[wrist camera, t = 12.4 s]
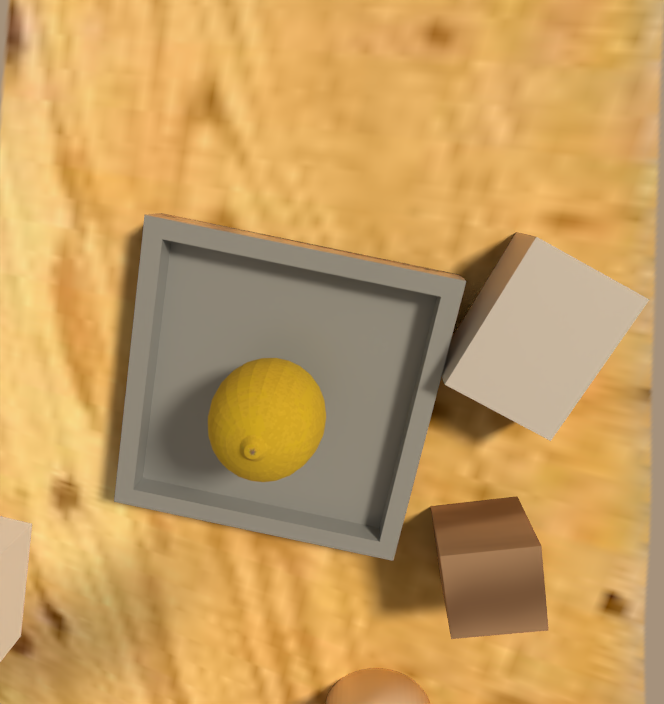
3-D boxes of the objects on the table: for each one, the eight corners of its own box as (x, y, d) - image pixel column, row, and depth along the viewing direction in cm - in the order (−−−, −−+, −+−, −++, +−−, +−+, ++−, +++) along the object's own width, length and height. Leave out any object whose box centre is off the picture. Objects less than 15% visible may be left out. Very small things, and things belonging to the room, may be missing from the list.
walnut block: (430, 505, 34) (440, 556, 29) (516, 495, 34) (541, 545, 29) (440, 578, 35) (451, 638, 30) (524, 570, 35) (548, 630, 30)
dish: (161, 213, 31) (144, 214, 28) (459, 274, 30) (466, 280, 28) (131, 481, 35) (114, 501, 32) (391, 536, 35) (393, 560, 32)
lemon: (312, 450, 32) (294, 529, 25) (218, 417, 32) (171, 486, 25) (345, 361, 31) (337, 415, 23) (247, 326, 31) (206, 369, 23)
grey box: (515, 231, 30) (536, 237, 26) (613, 286, 30) (649, 299, 26) (435, 361, 32) (444, 384, 28) (529, 411, 32) (550, 441, 28)
